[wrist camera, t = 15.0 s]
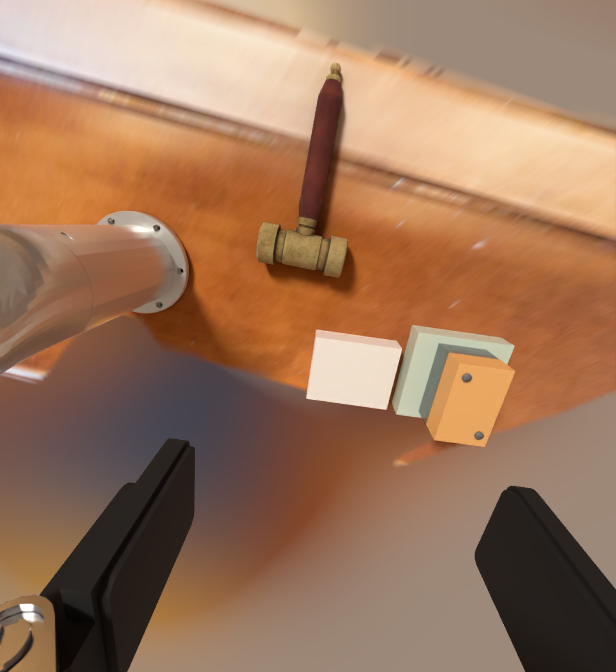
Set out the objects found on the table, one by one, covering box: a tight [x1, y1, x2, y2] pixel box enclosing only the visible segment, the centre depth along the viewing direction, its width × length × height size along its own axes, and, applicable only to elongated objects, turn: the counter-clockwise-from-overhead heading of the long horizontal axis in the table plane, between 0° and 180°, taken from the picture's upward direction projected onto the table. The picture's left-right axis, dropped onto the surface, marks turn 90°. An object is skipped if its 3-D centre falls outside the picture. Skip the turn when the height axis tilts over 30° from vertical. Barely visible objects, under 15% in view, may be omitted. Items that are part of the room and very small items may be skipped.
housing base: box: [419, 343, 498, 424], centre depth 39 cm, size 10×6×3 cm, turn 172°
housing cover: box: [426, 353, 515, 447], centre depth 36 cm, size 10×6×3 cm, turn 172°
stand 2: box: [392, 325, 514, 418], centre depth 41 cm, size 12×12×3 cm
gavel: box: [256, 63, 348, 278], centre depth 34 cm, size 21×5×10 cm
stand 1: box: [307, 330, 402, 410], centre depth 42 cm, size 11×9×3 cm
